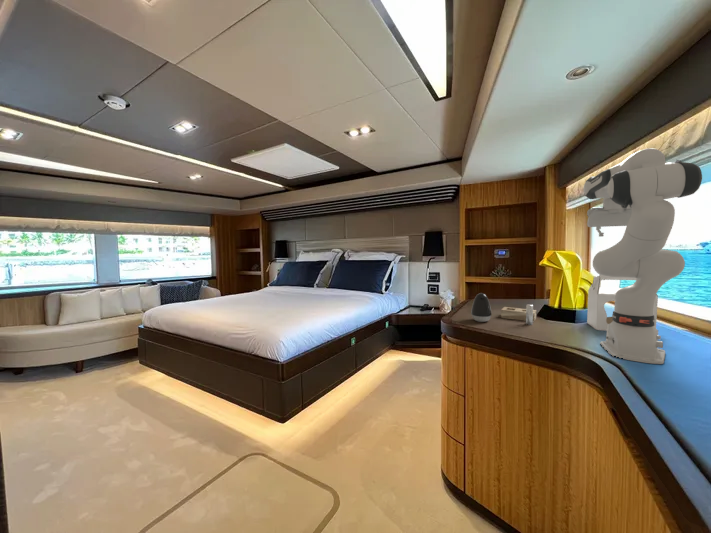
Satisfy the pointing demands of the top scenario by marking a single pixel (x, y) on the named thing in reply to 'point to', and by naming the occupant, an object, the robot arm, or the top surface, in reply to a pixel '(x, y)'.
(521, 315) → the hole block
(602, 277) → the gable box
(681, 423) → the top surface
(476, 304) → the dark grey egg speaker
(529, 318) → the peg
